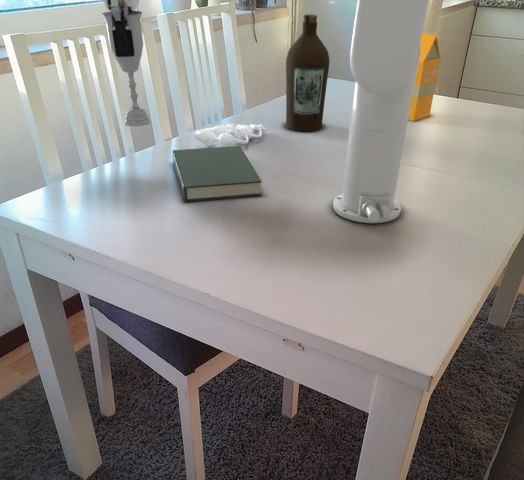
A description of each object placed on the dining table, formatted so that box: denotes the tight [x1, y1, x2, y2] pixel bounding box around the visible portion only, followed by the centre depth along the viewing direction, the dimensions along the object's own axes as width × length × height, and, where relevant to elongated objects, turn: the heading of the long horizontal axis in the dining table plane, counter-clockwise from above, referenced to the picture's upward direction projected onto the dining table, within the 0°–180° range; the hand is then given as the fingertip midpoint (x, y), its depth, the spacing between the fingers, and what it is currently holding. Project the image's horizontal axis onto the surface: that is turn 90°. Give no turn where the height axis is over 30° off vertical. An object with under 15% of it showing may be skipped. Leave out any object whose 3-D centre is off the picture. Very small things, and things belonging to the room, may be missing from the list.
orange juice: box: [408, 32, 441, 122], centre depth 145 cm, size 8×9×20 cm
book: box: [171, 145, 262, 203], centre depth 112 cm, size 21×15×3 cm
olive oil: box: [285, 13, 330, 133], centre depth 134 cm, size 11×11×25 cm
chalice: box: [101, 10, 152, 127], centre depth 98 cm, size 7×7×18 cm
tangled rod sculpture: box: [194, 123, 267, 147], centre depth 131 cm, size 19×14×4 cm
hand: (127, 51), depth 97 cm, fingers closed on chalice, 6 cm apart
